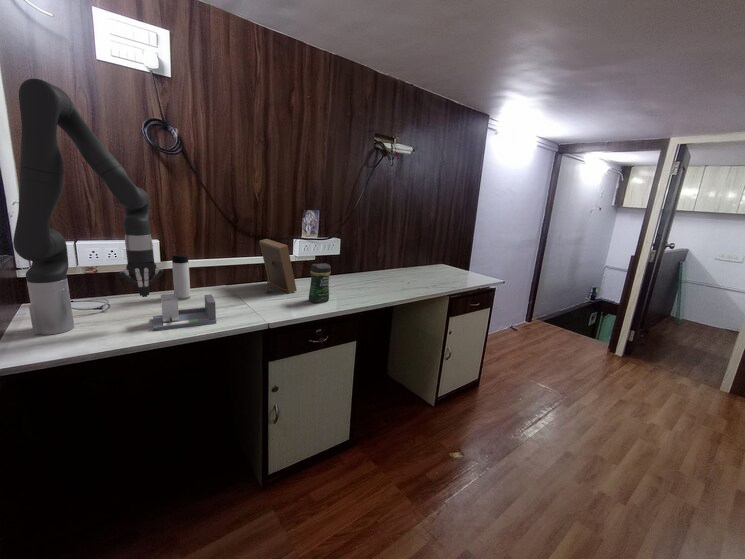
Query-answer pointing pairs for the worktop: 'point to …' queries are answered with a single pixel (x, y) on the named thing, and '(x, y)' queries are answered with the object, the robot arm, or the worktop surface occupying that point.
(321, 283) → the coffee jar
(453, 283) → the worktop surface
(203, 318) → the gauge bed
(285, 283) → the photo frame
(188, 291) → the travel mug
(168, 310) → the carriage
